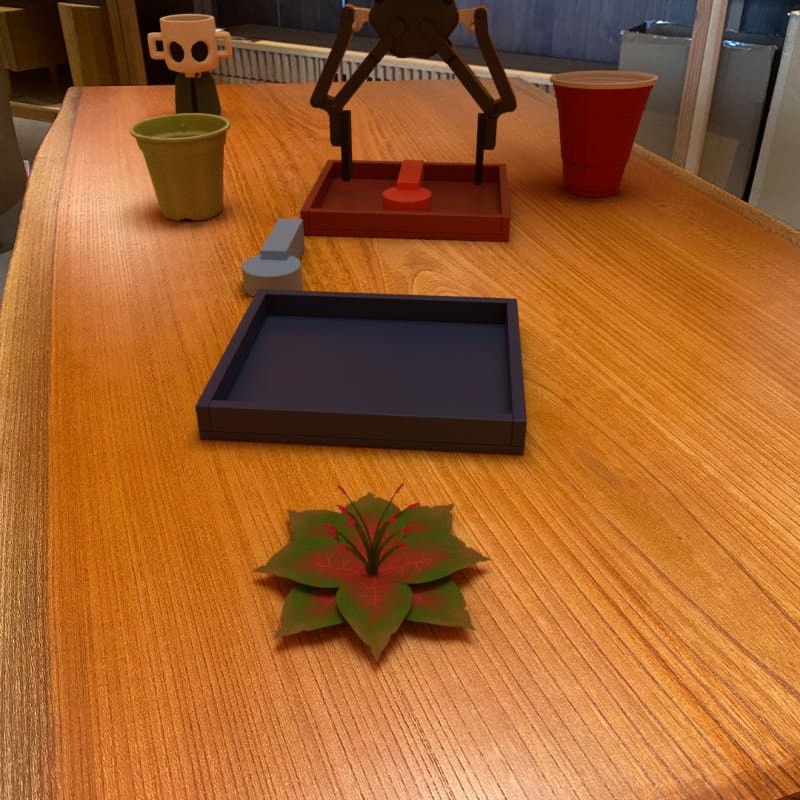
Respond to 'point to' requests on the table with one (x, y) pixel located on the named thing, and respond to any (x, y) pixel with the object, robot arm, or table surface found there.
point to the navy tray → (371, 373)
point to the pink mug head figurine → (192, 59)
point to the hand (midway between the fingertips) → (412, 179)
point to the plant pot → (185, 162)
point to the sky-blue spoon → (277, 260)
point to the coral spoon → (408, 190)
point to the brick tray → (449, 218)
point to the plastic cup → (598, 126)
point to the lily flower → (372, 569)
